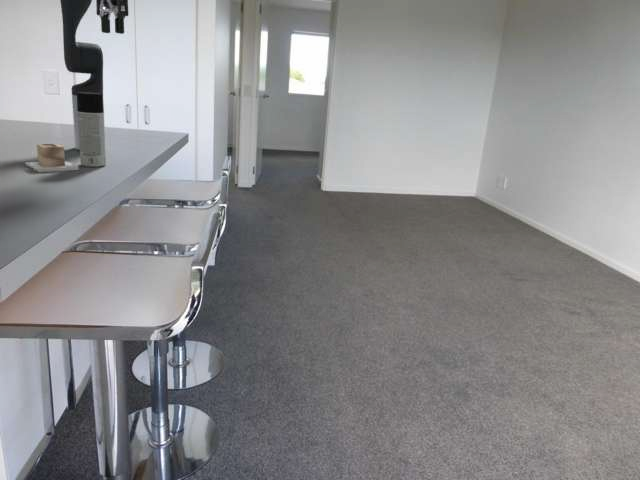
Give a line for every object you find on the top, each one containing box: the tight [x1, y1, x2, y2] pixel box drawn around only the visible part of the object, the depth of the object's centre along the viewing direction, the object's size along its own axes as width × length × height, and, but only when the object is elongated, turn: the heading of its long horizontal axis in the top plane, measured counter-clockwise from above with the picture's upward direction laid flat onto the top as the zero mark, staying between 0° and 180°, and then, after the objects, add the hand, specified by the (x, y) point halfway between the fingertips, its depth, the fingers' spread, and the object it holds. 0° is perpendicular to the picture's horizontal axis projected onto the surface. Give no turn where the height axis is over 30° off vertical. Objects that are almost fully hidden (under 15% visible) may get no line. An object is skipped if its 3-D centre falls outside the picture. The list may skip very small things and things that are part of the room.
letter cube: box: [36, 143, 66, 166], centre depth 134 cm, size 5×5×5 cm
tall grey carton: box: [77, 92, 107, 168], centre depth 140 cm, size 7×7×20 cm
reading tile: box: [25, 160, 80, 173], centre depth 135 cm, size 10×10×1 cm
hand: (112, 33), depth 139 cm, fingers open, 8 cm apart
